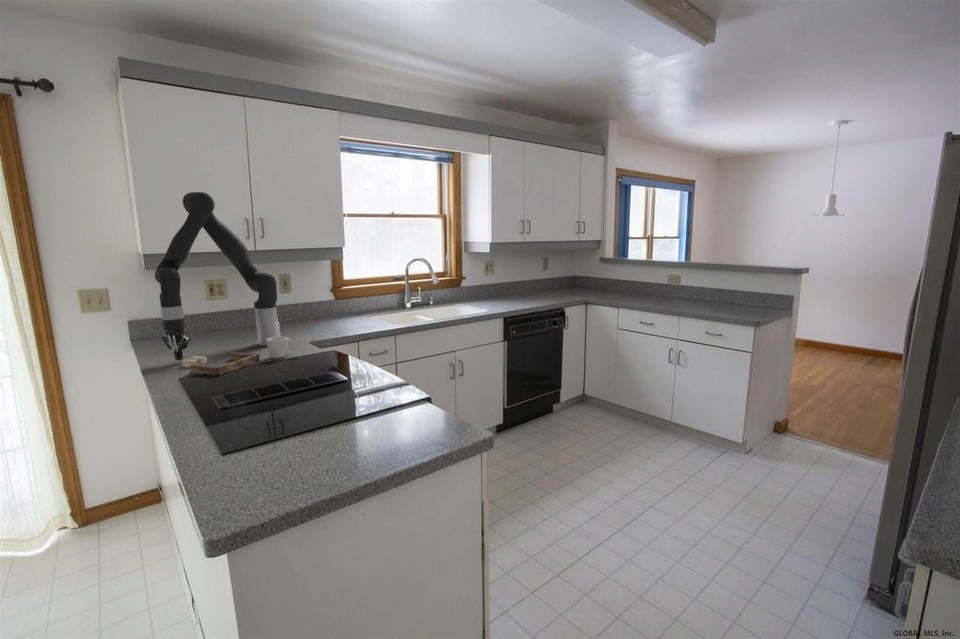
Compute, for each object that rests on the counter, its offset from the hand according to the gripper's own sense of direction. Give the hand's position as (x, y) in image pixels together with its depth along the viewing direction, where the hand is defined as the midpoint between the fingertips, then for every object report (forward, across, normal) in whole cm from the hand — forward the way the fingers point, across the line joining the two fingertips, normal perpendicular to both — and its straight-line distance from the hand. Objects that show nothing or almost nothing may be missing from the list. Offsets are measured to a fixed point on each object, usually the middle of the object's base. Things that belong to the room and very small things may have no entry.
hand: (179, 359), depth 195 cm
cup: (+2, -34, -19) cm, 39 cm away
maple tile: (+2, -9, 0) cm, 9 cm away
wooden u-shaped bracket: (+2, -24, 0) cm, 24 cm away
